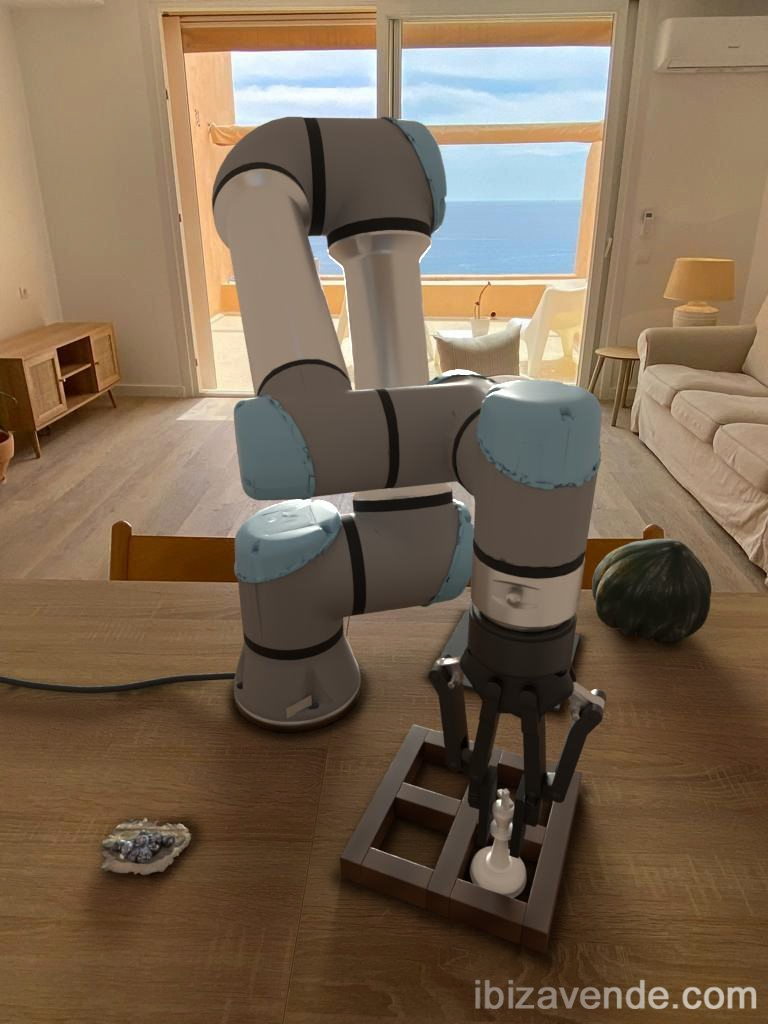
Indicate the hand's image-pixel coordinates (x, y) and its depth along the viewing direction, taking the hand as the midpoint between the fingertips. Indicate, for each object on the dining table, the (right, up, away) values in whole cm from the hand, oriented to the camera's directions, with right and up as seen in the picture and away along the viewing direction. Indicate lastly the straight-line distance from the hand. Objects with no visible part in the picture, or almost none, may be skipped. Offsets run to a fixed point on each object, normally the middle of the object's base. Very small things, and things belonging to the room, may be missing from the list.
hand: (501, 838), depth 59 cm
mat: (+6, +9, +31) cm, 33 cm away
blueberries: (-32, -3, +5) cm, 33 cm away
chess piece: (0, -4, +2) cm, 5 cm away
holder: (-2, -2, +7) cm, 7 cm away
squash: (+26, +12, +37) cm, 47 cm away
